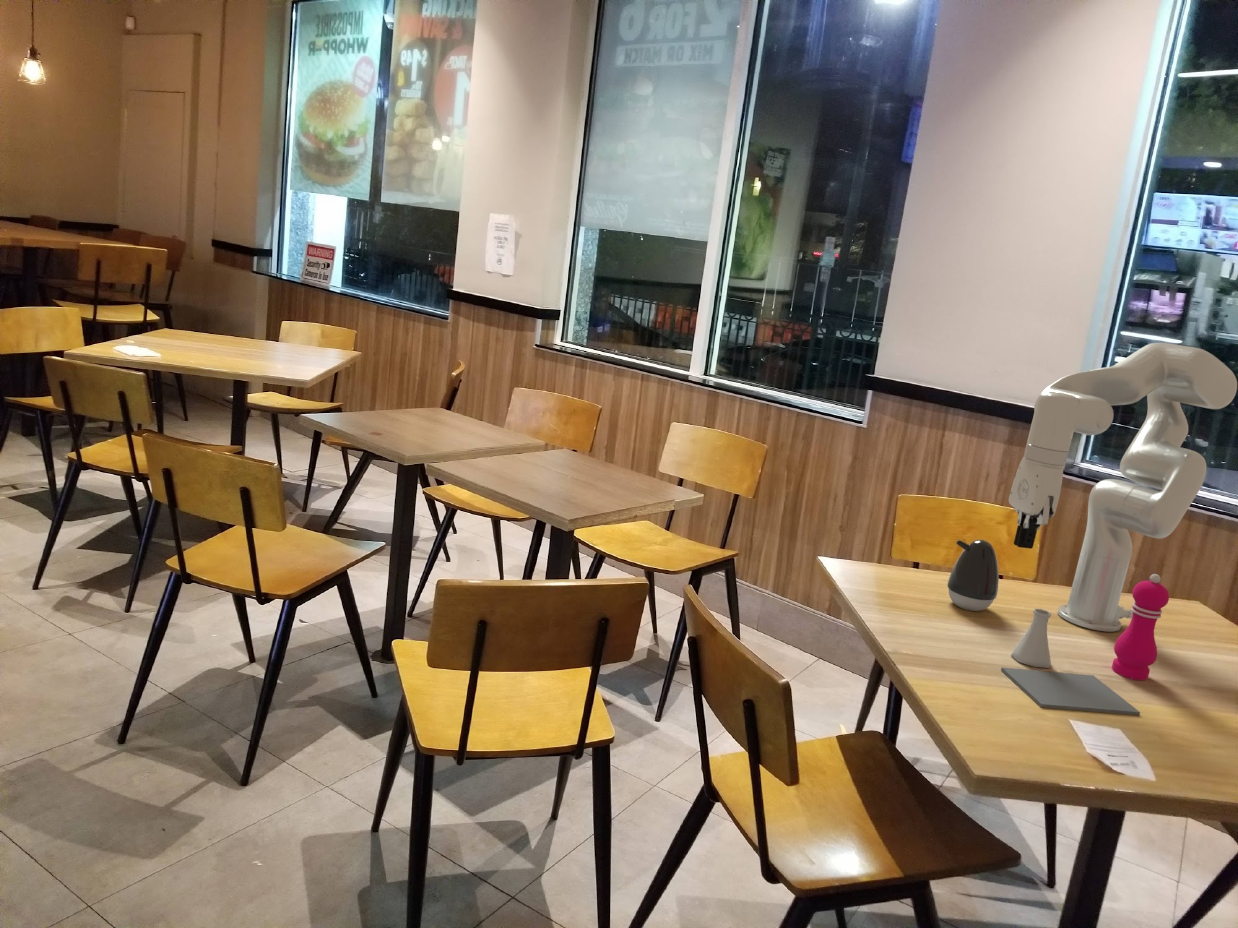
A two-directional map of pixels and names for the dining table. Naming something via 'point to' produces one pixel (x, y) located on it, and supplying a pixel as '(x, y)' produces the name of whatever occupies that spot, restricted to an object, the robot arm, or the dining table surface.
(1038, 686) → the rubber mat
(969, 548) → the pump dispenser
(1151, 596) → the pepper mill
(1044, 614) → the flask
